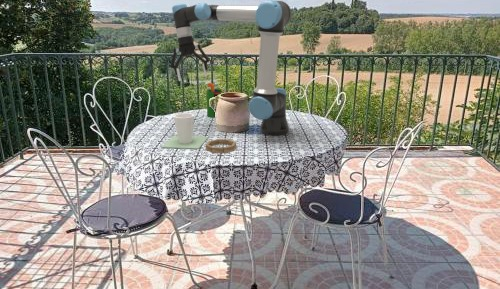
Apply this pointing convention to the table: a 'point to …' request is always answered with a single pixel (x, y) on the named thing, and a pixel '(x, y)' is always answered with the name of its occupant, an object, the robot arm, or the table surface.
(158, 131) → the table surface
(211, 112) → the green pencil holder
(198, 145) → the mat
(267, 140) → the table surface
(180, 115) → the foam cup
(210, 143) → the collar
